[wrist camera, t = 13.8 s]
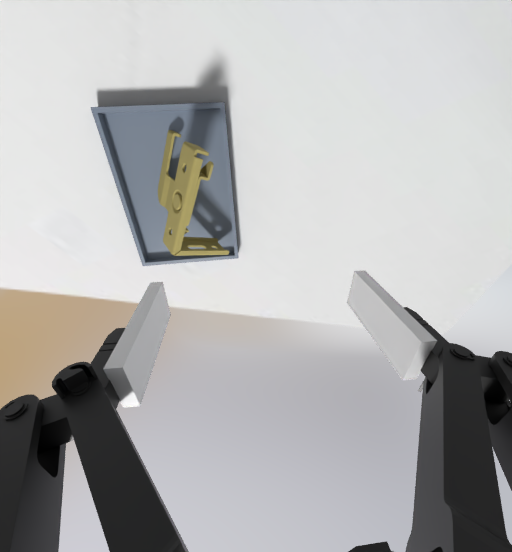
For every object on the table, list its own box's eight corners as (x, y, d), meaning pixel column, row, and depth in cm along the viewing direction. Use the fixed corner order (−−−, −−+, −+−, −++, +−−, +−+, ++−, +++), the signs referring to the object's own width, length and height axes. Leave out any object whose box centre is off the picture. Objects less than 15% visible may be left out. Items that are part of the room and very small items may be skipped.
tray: (98, 109, 32) (90, 107, 30) (224, 104, 33) (224, 102, 31) (146, 261, 43) (142, 265, 42) (237, 253, 44) (238, 258, 43)
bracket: (200, 226, 46) (147, 221, 39) (222, 148, 39) (162, 126, 32) (228, 255, 40) (171, 256, 33) (259, 170, 33) (196, 149, 26)
